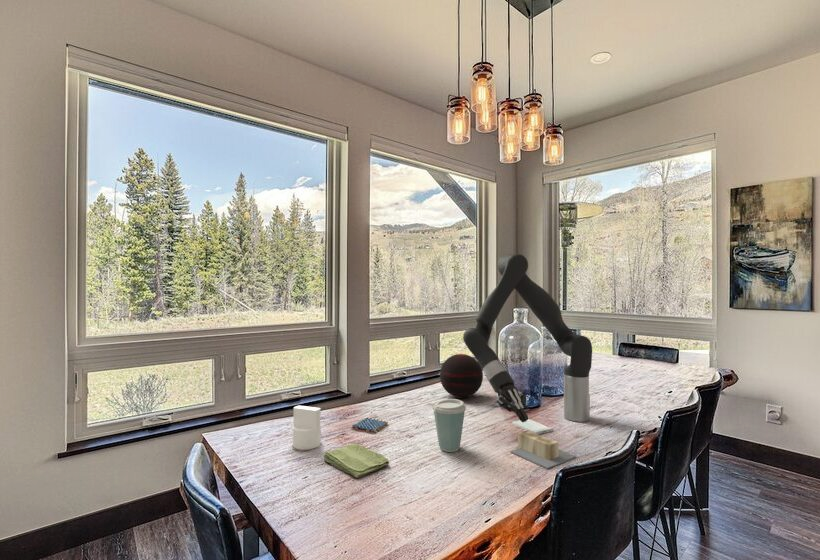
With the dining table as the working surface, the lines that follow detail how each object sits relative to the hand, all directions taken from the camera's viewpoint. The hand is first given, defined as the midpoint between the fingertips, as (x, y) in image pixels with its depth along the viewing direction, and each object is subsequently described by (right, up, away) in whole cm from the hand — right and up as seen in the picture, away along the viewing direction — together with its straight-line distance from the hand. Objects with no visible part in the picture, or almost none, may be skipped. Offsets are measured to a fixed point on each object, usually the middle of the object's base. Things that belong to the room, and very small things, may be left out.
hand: (525, 420), depth 135 cm
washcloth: (-54, -9, -12) cm, 56 cm away
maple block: (-1, -6, +1) cm, 6 cm away
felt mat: (+4, -9, -6) cm, 11 cm away
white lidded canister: (-72, -9, +2) cm, 73 cm away
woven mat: (-53, -9, +18) cm, 56 cm away
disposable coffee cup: (-25, -9, -1) cm, 27 cm away
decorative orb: (-14, -9, +58) cm, 61 cm away
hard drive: (+8, -10, +19) cm, 22 cm away
